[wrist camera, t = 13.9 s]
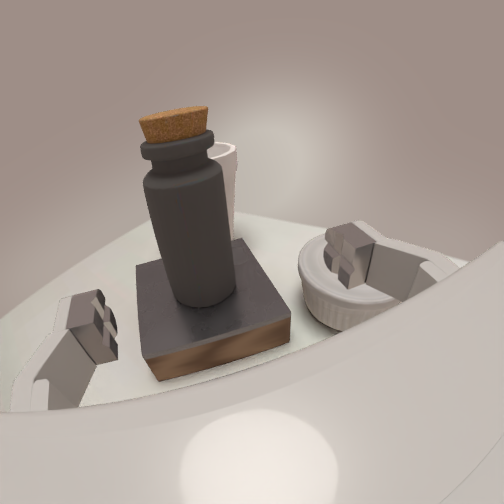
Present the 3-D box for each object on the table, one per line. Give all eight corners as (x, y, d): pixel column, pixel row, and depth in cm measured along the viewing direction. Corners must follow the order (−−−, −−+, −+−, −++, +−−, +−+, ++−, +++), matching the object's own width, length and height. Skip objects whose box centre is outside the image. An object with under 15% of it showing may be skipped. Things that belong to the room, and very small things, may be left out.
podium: (158, 381, 21) (142, 355, 19) (146, 293, 30) (135, 265, 28) (289, 341, 24) (291, 311, 22) (244, 266, 33) (242, 238, 31)
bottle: (224, 259, 28) (205, 103, 19) (245, 296, 23) (227, 106, 15) (168, 275, 26) (131, 118, 18) (178, 316, 22) (128, 125, 13)
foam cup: (201, 224, 42) (188, 142, 35) (256, 235, 39) (249, 143, 31) (161, 259, 36) (137, 165, 28) (220, 276, 32) (204, 166, 24)
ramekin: (409, 288, 28) (422, 250, 25) (378, 361, 21) (396, 323, 18) (326, 256, 34) (330, 219, 31) (275, 312, 27) (274, 270, 24)
